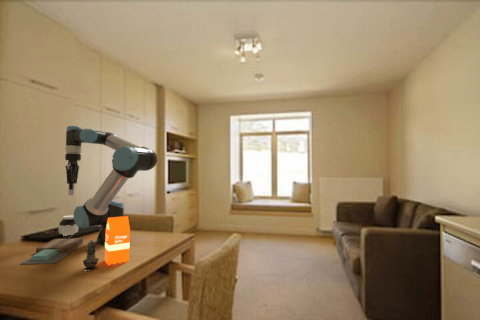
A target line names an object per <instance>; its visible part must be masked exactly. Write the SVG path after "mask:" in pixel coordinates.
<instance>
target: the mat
mask: <svg viewBox="0 0 480 320" xmlns="http://www.w3.org/2000/svg"><path fill="white" fill-rule="evenodd" d="M70 254H71V252H70V253H58V254H56V255H54V256H53V257H51V258H50V259H48V260H34V261H32V257H30V258H28V259H26V260H25V261H22V262H21V263H20V265H22V266H23V265H45V264H46V265H48V264H57V263H59V262H60V261H62V260H63V259H64V258H66V257H68V256H69V255H70Z"/></svg>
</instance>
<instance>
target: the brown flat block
mask: <svg viewBox="0 0 480 320" xmlns="http://www.w3.org/2000/svg"><path fill="white" fill-rule="evenodd" d="M83 240H84V239H83V238H82V237H79V238H78V237H77V238H71V237H70V238H54V239H51V240H50V241H48V242H46V243H44V244H42V245H40V246H38V247H37V248H36V249H35V254H37V253H39V252H41V251H43V250H45V249H58V253H70V254H71V252H73V251H74V250H76V249H77V248H78V247H80V246H82V244H83V242H84V241H83Z"/></svg>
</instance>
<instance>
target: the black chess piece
mask: <svg viewBox="0 0 480 320" xmlns="http://www.w3.org/2000/svg"><path fill="white" fill-rule="evenodd" d="M96 252H97V250H96V243H95V242H93V240H92V239H91V240H90V242H88V243H87V249H86V257H85V258H86V259H84V260H83V261H82V263H83V266H84V268H83V270H87V271H86V272H89V271H88V270H94V269H96V268H97V264H98V263H99V258H97V257H96ZM96 270H97V269H96ZM94 271H95V270H94Z"/></svg>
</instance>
